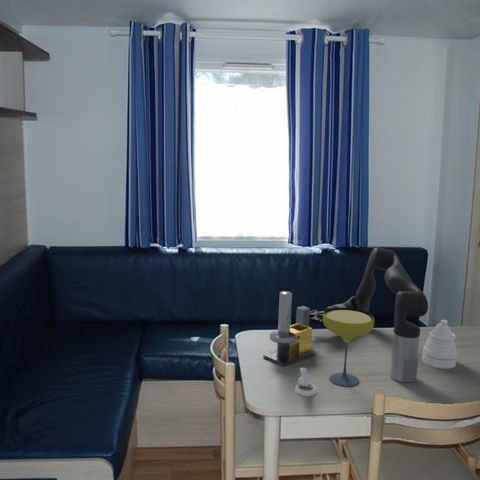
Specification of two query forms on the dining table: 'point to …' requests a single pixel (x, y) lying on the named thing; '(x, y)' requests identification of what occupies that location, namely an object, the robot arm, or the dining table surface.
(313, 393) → the white vr controller
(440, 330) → the honey pot
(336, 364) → the dining table surface
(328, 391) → the dining table surface
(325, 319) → the cocktail glass
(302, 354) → the flanged pole stand
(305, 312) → the grey square peg
